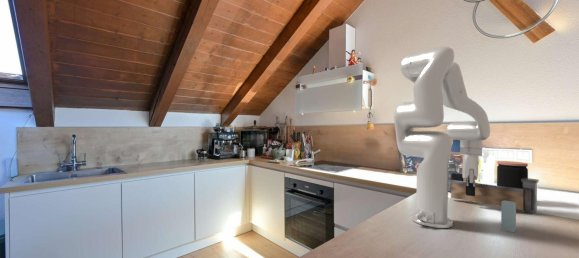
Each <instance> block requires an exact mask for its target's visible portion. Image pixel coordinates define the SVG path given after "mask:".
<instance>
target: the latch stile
mask: <svg viewBox="0 0 579 258" xmlns="http://www.w3.org/2000/svg"><path fill="white" fill-rule="evenodd" d="M500 208H501V209H500V211H501V212H500V214H501V216H500V217H501V218H500V219H501V220H500V223H501V224H500V226H501V227H500V229H501V231H506V232H509V233H515V231H517V228H516V227H517V209H516V202H511V201H505V200H504V201H502V202H501V206H500Z"/></svg>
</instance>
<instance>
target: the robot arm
mask: <svg viewBox="0 0 579 258" xmlns="http://www.w3.org/2000/svg"><path fill="white" fill-rule="evenodd" d="M399 66H400V71H401V73H402V75H403V76H404V77H405V78H406V79H407V80H409V81H410V82H412V83H414V84H413V88H412V89H413V92H412V93H413V101H406V102H402V103H400V104H399V105H397V107H396V108H395V111H394V117H393V118H394V119H393V121H394V128H395V129H394V130H395V137H396V144H397V145H396V146H397V149H398V151H399V153H400V154H402V155H403V156H407V157H415V158H423V160H422V161H421V163H419V165H418V166H417V169H416V201H415V202H416V206H415V207H416V210H415V211H416V212H414V213H412V214H411V220H412V221H414V222H415V223H416V224H419V225H422V226H425V227H431V228H437V229H447V228H448V229H449V228H452V227H453V226H454V222H453V220H452V219H451V218H450V217H449V218H448V212H449V211H448V210H449V209H448V208H449V206H448V205H449V204H448V203H449V196H448V195H449V192H448V171H449V162H450V157H451V151H452V148H453V147H452V146H453V141H452V140H456V141H460V142H459V144H460V145H459V148H460V150H459V155H460V156H462V163H461V165H462V167H461V169H462V171H461V173H462V177H463V180H465V179H466V180H465V182H466V195H468V196H475V183H476V181H477V180H478V176H479V157H483V141H485V140H487V139H489V137H490V136H491V135H490V134H491V127H490V122H489V118H488V114H487V112H486V110H485V109H484V108H483V107H482V106H481V105H479V103H477V102H476V101H475V100H473V99H472V98H470V97H469V96H468V94H467V90H466V85H465V82H464V79H463V74H462V70H461V67H460V65H459V64H458V63H457V62H455V51H454V50H453V48H451V47H450V46H441V47H440V46H439V47H436V48H431V49H427V50H423V51H420V52H415V53H411V54H408V55H407V56H404V58H402V60H401V62H400V65H399ZM444 107H446V108H449V109H451V110H455V111H458V112H462V113H464V114H466V115H468V116H470V117H471V118H472V119H473V120H474V121H473V120H472V121H470V120H469V121H455V122H454V121H453V122H451V123H449V124H448V125H447V126H446V129H445V132H443V131H439V130H437V131H436V130H414V128H415V129H417V128H419V129H420V128H422V129H424V128H425V129H426V128H437V127H440V126H442V124H443V122H444V117H445V114H444V113H445V111H444Z"/></svg>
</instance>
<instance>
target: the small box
mask: <svg viewBox="0 0 579 258" xmlns="http://www.w3.org/2000/svg"><path fill="white" fill-rule="evenodd" d="M450 180H456V181H464V179H463V177H462V172H459V171H455V170H448V194H451V183H450Z"/></svg>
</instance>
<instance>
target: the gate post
mask: <svg viewBox="0 0 579 258" xmlns="http://www.w3.org/2000/svg"><path fill="white" fill-rule="evenodd" d="M539 180H540V179H537V178H529V177H528V178H522V179H521V181H522V182H523V189H526V190H531V212H528V214H530V213H531V214H536V213H538V210H537V209H538V183H539ZM522 212H523V213H526V212H525V211H524V192H523V210H522Z"/></svg>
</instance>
